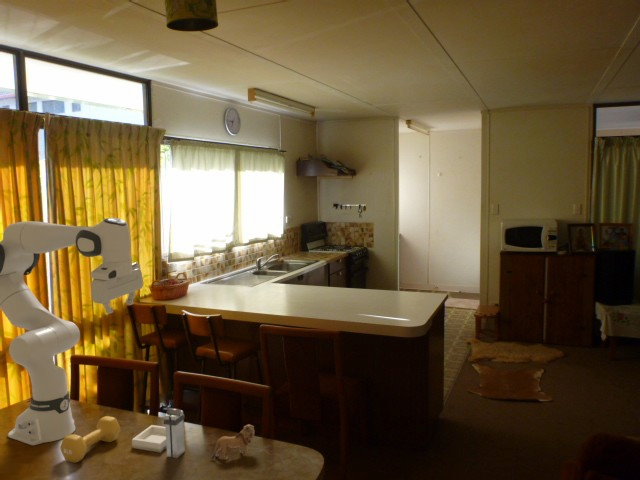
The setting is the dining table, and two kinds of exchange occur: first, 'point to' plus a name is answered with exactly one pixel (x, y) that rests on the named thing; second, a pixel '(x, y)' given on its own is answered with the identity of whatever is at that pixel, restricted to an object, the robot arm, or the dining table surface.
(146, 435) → the tray
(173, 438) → the white gray rectangular canister
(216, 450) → the lion figurine
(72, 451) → the dumbbell
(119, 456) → the dining table surface
